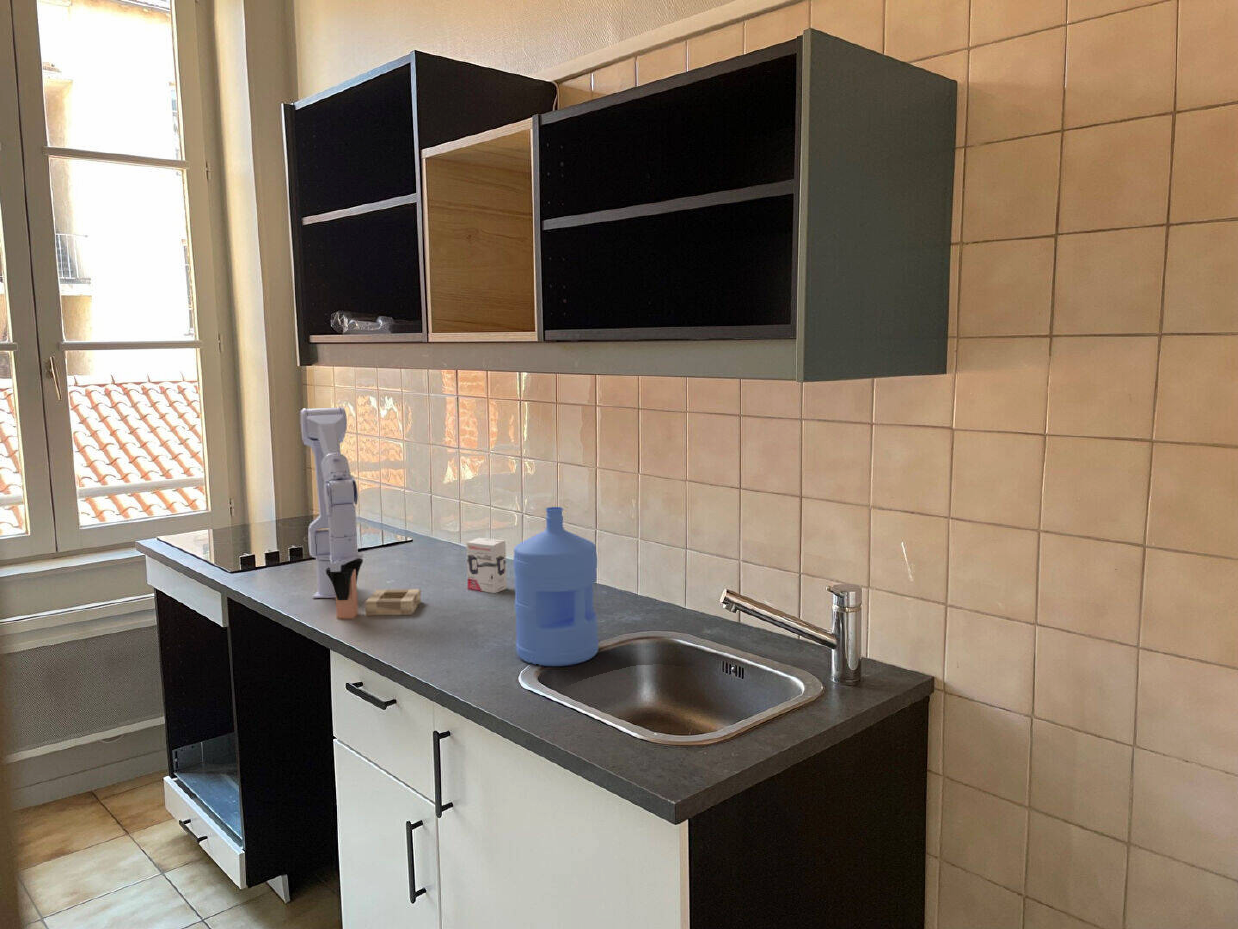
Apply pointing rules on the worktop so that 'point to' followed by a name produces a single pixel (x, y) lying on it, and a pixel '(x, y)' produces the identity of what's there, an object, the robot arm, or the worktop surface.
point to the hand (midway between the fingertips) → (346, 596)
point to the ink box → (486, 565)
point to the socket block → (393, 602)
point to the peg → (348, 601)
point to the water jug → (555, 596)
